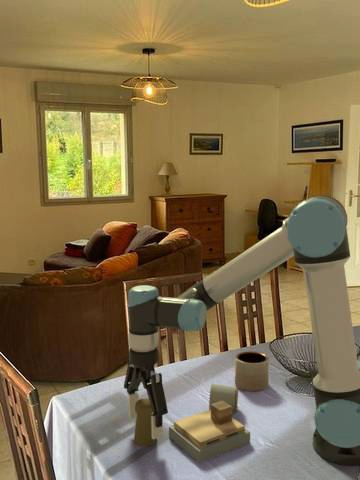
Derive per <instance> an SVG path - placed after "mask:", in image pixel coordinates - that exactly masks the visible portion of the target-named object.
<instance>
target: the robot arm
mask: <svg viewBox="0 0 360 480" xmlns="http://www.w3.org/2000/svg"><path fill="white" fill-rule="evenodd" d="M348 221H349V220H348V214H347V211H346V209H345V207H344V205H343V204H342V203H341V202H340V201H339V200H338V199H336V198H335V197H332V196H331V195H330V196H329V195H322V194H321V195H314V196H311V197H309V198H307V199H304V200H302V201H300V202H299V203H298V204H297V205H296V206H295V207H294V208H293V209H292V211H291V212H290V214H289V216H288V217H286V218H285V219H284V220H282V225H281V227H279V228H277V229H276V230H274V231H273V232H272V233H270V234H269V235H267V236H265V237H264V238H263V239H261V240H260V241H258V242H257V243H255V244H254V245H252V246H250V247H249V248H248V249H246V250H245V251H243V252H242V253H240V254H239V255H237V256H236V257H235V258H233V259H232V260H230V261H228V262H227V263H225V264H224V265H223V266H221V267H219V268H218V269H217V270H215V271H213V272H212V273H211V274H209V275H208V276H206V277H204V278H203V279H202V280H200V281H199V282H197V283H195V284H193V285H192V286H191V287H189V288H188V289H187V290H186V291H184V292H182V293H181V294H180V295H178V296H177V297H170V296H169V297H167V296H162V295H160V294H159V289H158V288H157V287H156V286H152V285H146V284H145V285H136V286H133V287H132V288H130V289H129V290H128V295H127V296H128V300H127V312H128V313H127V314H128V347H129V348H128V356H129V357H128V358H127V368H126V373H125V378H124V384H123V388H124V389H125V390H126V392H127V393H126V394H128V395H127V396H128V418H129V419H134V418H137V413H136V411H135V404H136V402H137V401H138V400H140V397H139V391H140V390H139V387H140V385H141V384H142V386H143V389H145V391H146V394H147V398H148V399H149V400H150V404H151V407H152V410H153V413H152V414H151V425H152V439H156V438H157V439H159V438H162V437H163V436H164V435H163V419H164V418H163V416H164V415H167V414H169V410H168V406H167V405H168V403H167V400H166V397H165V390H164V385H163V375H162V373H161V372H159V373H158V372H156V369H155V366H156V364H157V363H158V362H159V360H160V358H159V357H160V354H159V353H160V352H159V351H160V349H159V347H158V346H159V335H160V332H159V327H160V328H166V329H174V330H182V331H185V332H190V331H192V332H198V331H201V330H202V329H203V328H204V326H205V323H206V319H207V312H208V311H209V310H211V309H212V308H214V307H215V306H217V305H218V304H220V303H222V302H223V301H225V300H226V299H228V298H229V297H230V296H232V295H234V294H236V293H237V292H239V291H241V290H242V289H243V288H245V287H247V286H248V285H250V284H251V283H253V282H255V281H256V280H258V279H260V278H261V277H262V276H264V275H266V274H267V273H268V272H271V271H272V270H273V269H275V268H277V267H278V266H280V265H282V264H283V263H285V262H286V261H288V260H289V259H292V258H293V257H294V263H295V265H296V266H298V267H299V268H301V269H302V271H303V276H304V284H305V288H306V289H305V291H306V296H307V304H308V311H309V319H310V325H311V332H312V338H313V345H314V354H315V359H316V364H317V365H316V366H317V372H318V373H317V374H316V375H315V377H313V379H312V386H313V387H312V388H313V393H314V401H315V412H314V416H313V418H314V424H315V429H314V432H313V435H312V446H313V447H312V448H313V450H314V451H315V452H316V453H317V454H318V455H319V456H320V457H322V458H323V459H326V460H327V461H329V462H332V463H335V464H338V465H343V466H344V465H345V466H360V360H358V358H357V349H356V342H355V335H354V328H353V321H352V313H351V306H350V298H349V291H348V290H349V289H348V286H347V285H348V283H347V276H346V270H345V265H346V263H348V261H349V259H350V258H351V251H350V244H349V243H350V242H349V235H348V227H347V226H348Z"/></svg>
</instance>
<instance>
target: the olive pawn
mask: <svg viewBox="0 0 360 480" xmlns="http://www.w3.org/2000/svg"><path fill="white" fill-rule="evenodd" d="M135 411H136V413H137V417H135V418H136V419H135V428H134V436H133V443H134V444H135V446H138V447H141V446H145V447H144V448H146V446H148V447H152V446H154V445H155V444H156V443H157V441H158V438H156V439H152V425H151V414H152V413H153V410H152V407H151V404H150V400H149V398H141V399H140V398H139V400H138V401H137V402H136V404H135ZM153 444H154V445H153Z"/></svg>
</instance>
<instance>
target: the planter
mask: <svg viewBox="0 0 360 480" xmlns="http://www.w3.org/2000/svg"><path fill="white" fill-rule="evenodd" d="M234 357H235V360H234V361H235V362H234V364H235V365H234V385H235V386H236V388H237V389H240V390H242V391H244V392H251V393H253V392H255V393H256V392H260V391H265V389H266V390H267V388H268V387H269V378H270V377H269V372H270V371H269V369H270V367H269V365H270V364H269V363H270V361H269V356H268V355H267V354H264V353H263V352H260V351H249V350H248V351H242V352H241V351H240V352H239V353H237V354H236V355H235V356H234Z"/></svg>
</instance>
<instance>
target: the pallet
mask: <svg viewBox="0 0 360 480" xmlns="http://www.w3.org/2000/svg"><path fill="white" fill-rule="evenodd" d="M173 425H174V427H175V428H176V429H177V430H178V431H180V432H181V433H182V434H183V435H185V436H186V437H187V438H188V439H190V440H191V441H192V442H193V443H195V444H196V445H197V446H198V447H199V448H202V447H205V446H207V442H210V441H213V440H215V439H218V440H220V441H221V440H223V439H226V435H229V434H232V433H234V432H237V433H238V434H239V433H242V432H245V429H246V426H245V425H244V424H242V423H241V422H239V421H238V420H236V419H234V417H232V421H230V422H227V423H224V424H221V425H219V424H218V423H216V422H215V421H214V420H212V419H211V410H209V409H208V410H205V411H202V412H199V413H196V414H193V415H190V416H186V417H183V418H181V419H178V420H174V421H173Z"/></svg>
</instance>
